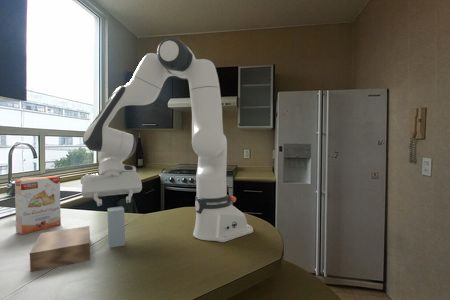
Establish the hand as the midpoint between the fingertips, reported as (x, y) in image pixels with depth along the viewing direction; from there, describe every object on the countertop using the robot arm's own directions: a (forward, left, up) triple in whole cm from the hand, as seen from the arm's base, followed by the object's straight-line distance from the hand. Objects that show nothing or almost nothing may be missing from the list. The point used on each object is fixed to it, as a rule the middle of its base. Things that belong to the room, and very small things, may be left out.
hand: (114, 203), depth 90 cm
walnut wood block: (+15, +5, -13) cm, 20 cm away
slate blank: (0, +5, -13) cm, 14 cm away
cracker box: (+26, -29, -13) cm, 41 cm away
